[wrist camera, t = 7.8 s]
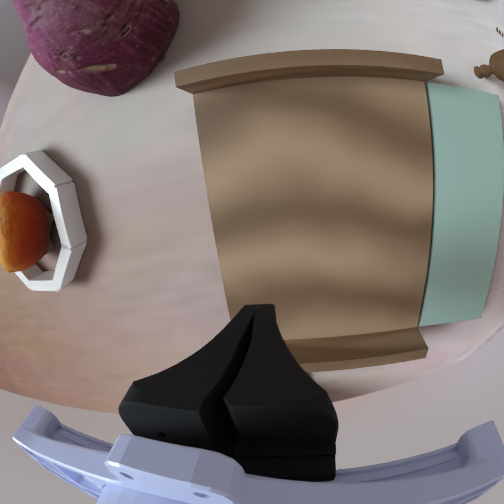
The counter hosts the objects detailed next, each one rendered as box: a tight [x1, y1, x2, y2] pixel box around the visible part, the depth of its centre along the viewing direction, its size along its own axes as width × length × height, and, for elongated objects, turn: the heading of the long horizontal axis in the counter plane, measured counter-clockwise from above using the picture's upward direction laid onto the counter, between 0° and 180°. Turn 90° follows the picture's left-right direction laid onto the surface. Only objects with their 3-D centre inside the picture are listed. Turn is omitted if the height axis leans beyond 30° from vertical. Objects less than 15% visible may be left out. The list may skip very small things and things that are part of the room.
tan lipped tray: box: [174, 49, 444, 372], centre depth 18 cm, size 22×16×4 cm
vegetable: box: [11, 0, 179, 97], centre depth 10 cm, size 10×10×15 cm
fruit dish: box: [0, 151, 87, 291], centre depth 22 cm, size 14×14×2 cm
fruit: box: [0, 191, 54, 272], centre depth 21 cm, size 8×8×8 cm
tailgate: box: [418, 82, 504, 326], centre depth 17 cm, size 20×1×7 cm
